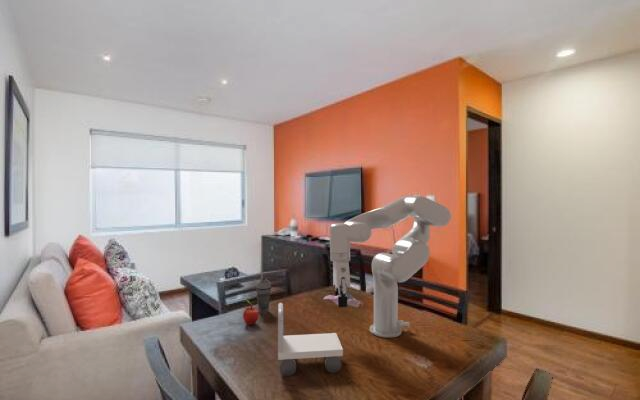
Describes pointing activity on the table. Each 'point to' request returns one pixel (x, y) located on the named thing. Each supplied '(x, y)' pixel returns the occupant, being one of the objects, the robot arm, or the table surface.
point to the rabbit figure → (349, 301)
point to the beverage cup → (263, 294)
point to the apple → (250, 315)
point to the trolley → (307, 348)
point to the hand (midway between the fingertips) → (341, 303)
